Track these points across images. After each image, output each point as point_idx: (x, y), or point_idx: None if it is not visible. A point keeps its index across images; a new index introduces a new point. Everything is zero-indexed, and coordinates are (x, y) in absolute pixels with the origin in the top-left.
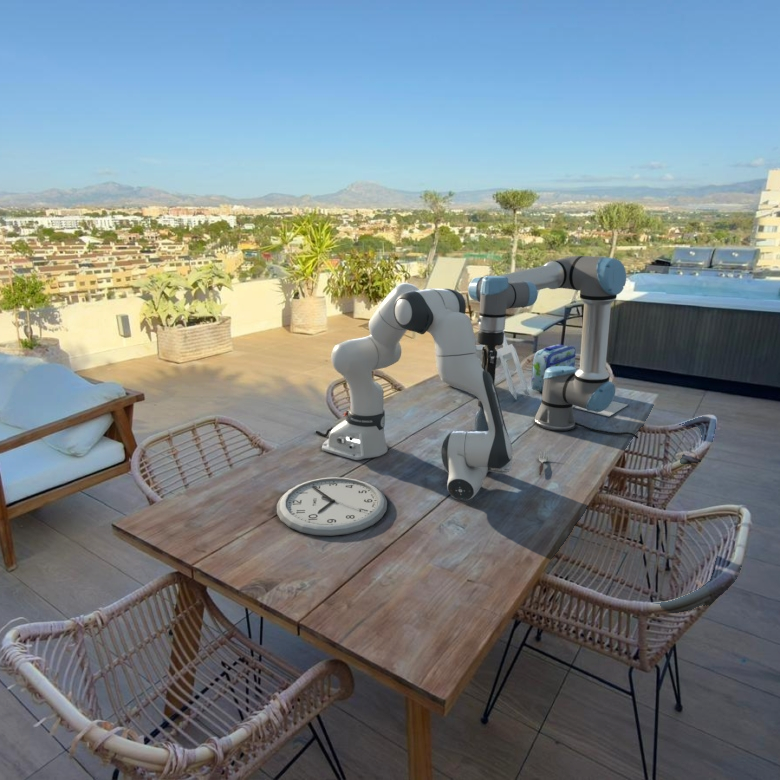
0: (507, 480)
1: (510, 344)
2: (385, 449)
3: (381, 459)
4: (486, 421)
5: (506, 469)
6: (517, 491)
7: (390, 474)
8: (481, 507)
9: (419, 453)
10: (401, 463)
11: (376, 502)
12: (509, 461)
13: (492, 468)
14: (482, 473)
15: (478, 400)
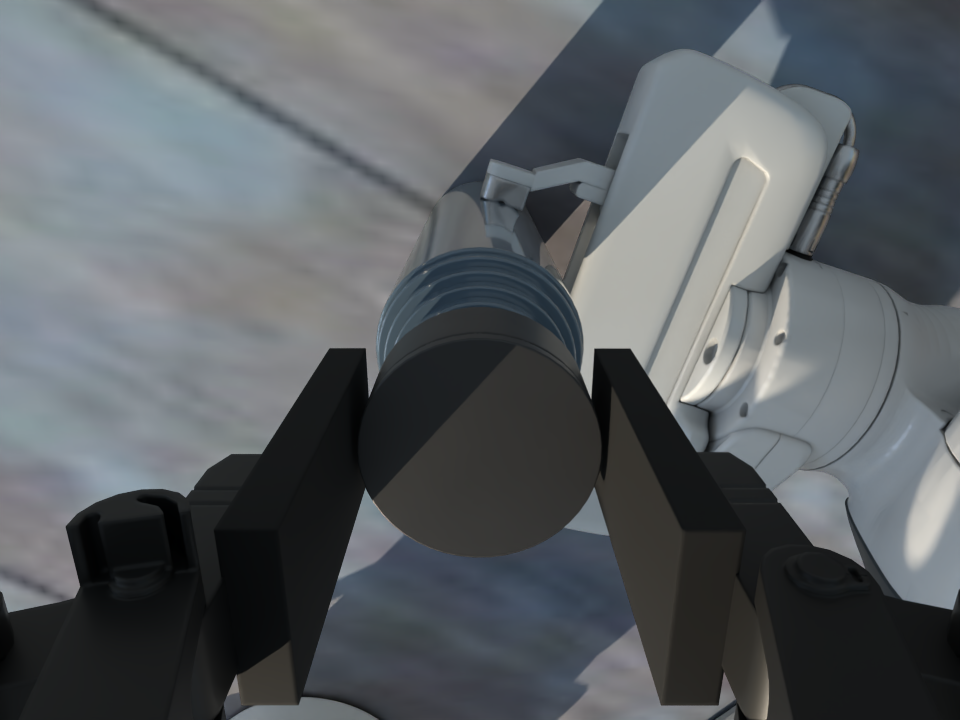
0: (623, 80)
1: None
2: (331, 716)
3: (413, 710)
4: (583, 337)
5: (846, 128)
6: (771, 37)
7: (572, 668)
8: (932, 280)
9: None
10: (447, 631)
11: None
12: (781, 92)
13: (823, 231)
14: (958, 323)
15: (489, 544)
